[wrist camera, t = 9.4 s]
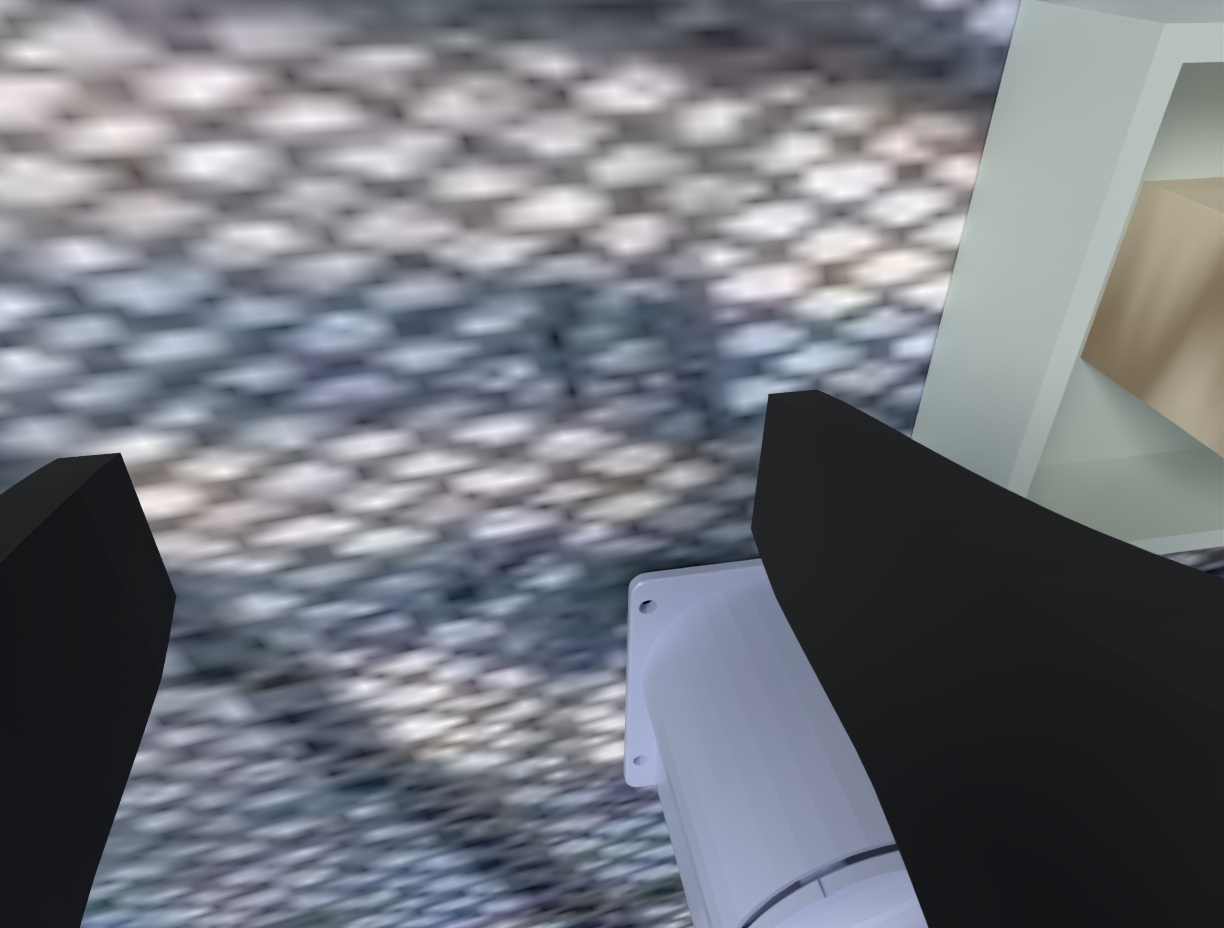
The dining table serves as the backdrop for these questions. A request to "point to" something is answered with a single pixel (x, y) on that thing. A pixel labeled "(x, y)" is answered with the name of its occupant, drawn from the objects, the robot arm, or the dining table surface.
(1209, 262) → the birch block
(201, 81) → the dining table surface
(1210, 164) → the bin
